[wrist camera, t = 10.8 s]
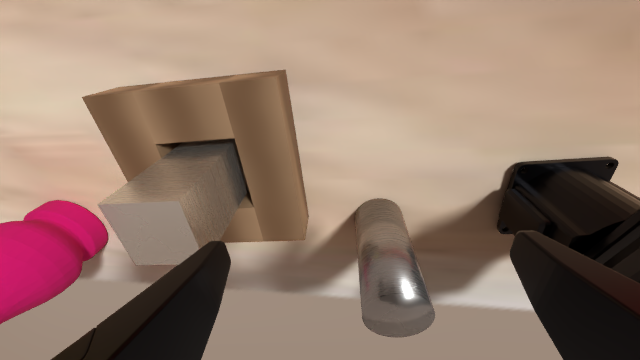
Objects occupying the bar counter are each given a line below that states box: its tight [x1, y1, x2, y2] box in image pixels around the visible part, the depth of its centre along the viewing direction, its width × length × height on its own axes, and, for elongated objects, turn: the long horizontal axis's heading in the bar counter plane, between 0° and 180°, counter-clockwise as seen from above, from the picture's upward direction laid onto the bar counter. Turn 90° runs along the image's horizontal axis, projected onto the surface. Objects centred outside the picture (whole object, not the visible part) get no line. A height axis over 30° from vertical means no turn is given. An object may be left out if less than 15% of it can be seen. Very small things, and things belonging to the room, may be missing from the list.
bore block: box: [82, 70, 309, 243], centre depth 19 cm, size 12×12×3 cm
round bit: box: [355, 199, 435, 337], centre depth 19 cm, size 4×4×9 cm
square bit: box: [98, 138, 249, 265], centre depth 17 cm, size 4×4×9 cm
